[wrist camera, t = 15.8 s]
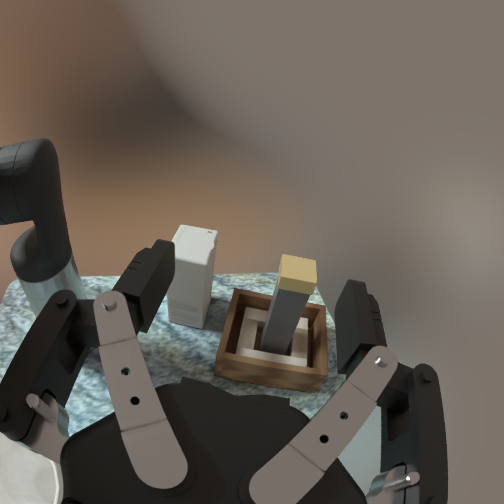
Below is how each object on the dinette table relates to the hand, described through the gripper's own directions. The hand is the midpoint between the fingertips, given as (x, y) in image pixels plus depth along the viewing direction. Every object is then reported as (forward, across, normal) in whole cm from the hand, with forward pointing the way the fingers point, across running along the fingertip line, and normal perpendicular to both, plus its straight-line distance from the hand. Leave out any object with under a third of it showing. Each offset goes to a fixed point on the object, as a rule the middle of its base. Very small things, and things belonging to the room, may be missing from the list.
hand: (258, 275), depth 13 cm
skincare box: (+23, +10, +32) cm, 41 cm away
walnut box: (+18, -5, +32) cm, 37 cm away
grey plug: (+18, -5, +31) cm, 37 cm away
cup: (-16, +20, +32) cm, 41 cm away
